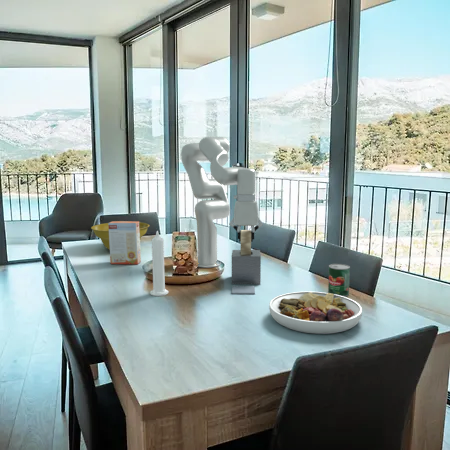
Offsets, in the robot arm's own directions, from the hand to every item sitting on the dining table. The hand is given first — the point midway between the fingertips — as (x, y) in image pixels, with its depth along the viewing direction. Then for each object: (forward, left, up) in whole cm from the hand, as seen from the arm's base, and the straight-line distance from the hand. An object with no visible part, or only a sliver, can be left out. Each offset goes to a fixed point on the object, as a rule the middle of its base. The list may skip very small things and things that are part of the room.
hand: (245, 240), depth 193 cm
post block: (0, 0, -17) cm, 17 cm away
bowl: (+23, -44, -18) cm, 53 cm away
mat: (-1, -15, -17) cm, 23 cm away
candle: (-34, -19, -18) cm, 43 cm away
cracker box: (-60, +28, -18) cm, 68 cm away
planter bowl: (-71, +60, -18) cm, 94 cm away
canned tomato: (+36, -17, -18) cm, 44 cm away
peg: (0, 0, -6) cm, 6 cm away
